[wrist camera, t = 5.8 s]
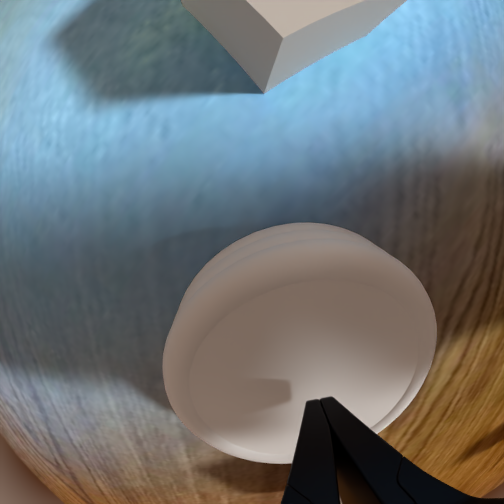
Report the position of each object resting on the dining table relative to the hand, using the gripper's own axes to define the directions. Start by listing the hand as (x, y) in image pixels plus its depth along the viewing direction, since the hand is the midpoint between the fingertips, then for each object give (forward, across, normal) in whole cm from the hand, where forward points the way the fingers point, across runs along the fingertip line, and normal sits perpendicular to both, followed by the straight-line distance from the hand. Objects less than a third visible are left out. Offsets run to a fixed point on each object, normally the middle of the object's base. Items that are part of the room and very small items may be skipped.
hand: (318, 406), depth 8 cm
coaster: (+4, 0, 0) cm, 4 cm away
